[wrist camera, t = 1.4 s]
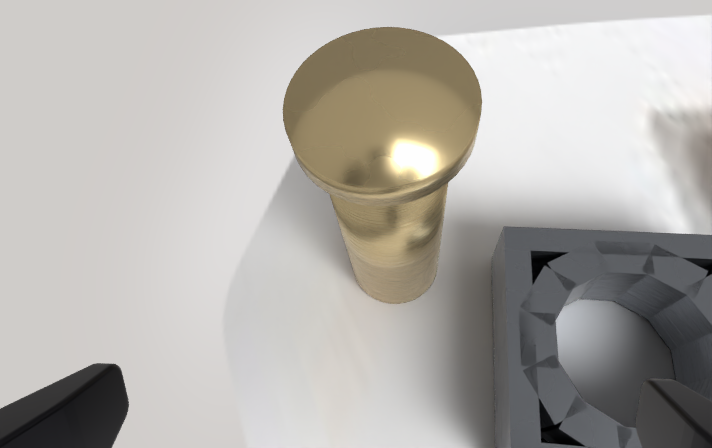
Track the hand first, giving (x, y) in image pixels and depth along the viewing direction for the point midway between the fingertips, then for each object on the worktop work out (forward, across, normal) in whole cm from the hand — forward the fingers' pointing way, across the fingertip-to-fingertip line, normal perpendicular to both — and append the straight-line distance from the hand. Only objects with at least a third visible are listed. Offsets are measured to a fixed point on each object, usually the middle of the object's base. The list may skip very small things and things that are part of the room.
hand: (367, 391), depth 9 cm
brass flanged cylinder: (+15, 0, +4) cm, 15 cm away
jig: (+12, -9, +7) cm, 16 cm away
